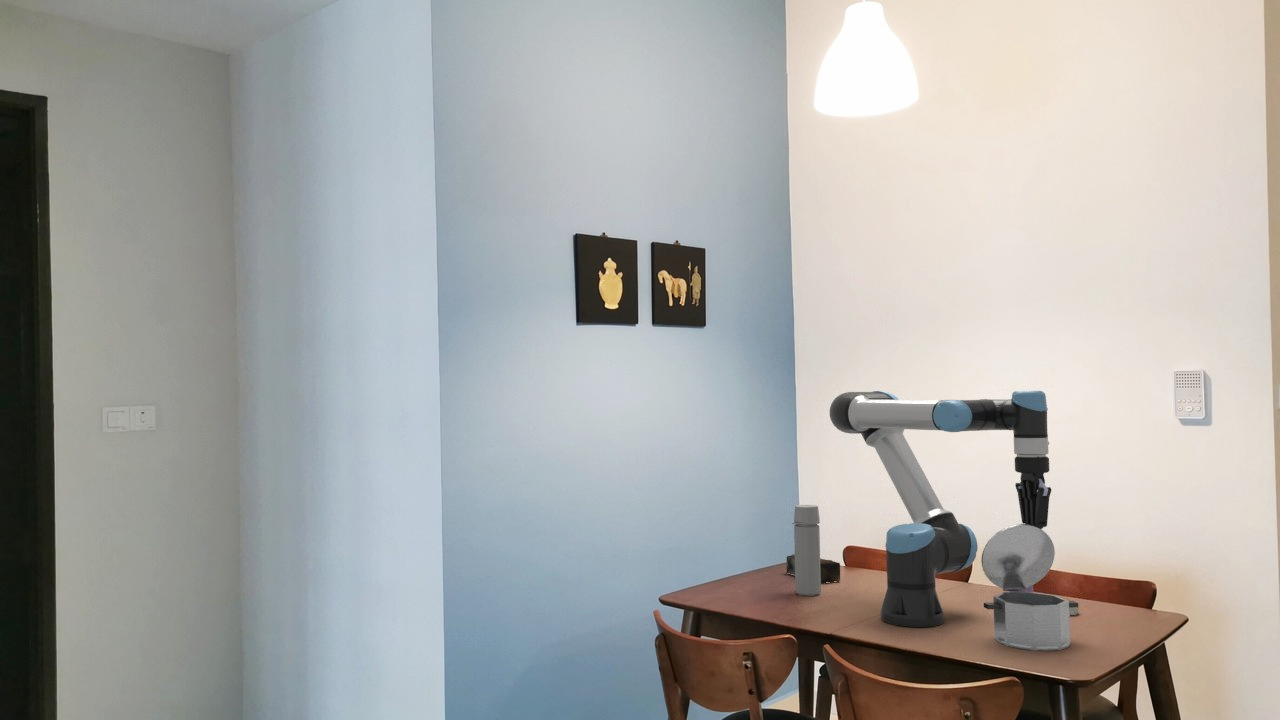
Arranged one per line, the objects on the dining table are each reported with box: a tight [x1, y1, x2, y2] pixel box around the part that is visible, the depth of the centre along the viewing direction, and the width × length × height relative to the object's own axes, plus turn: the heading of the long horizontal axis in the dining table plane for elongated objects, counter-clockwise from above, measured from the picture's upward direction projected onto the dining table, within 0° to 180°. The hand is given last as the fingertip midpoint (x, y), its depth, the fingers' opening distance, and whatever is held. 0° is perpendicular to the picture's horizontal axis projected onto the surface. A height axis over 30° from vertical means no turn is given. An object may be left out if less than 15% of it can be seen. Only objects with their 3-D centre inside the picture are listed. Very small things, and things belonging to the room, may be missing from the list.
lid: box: [981, 523, 1056, 592], centre depth 213 cm, size 17×17×3 cm
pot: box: [983, 591, 1079, 652], centre depth 207 cm, size 21×16×10 cm
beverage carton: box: [786, 553, 841, 584], centre depth 283 cm, size 8×19×7 cm, turn 23°
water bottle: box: [791, 504, 822, 597], centre depth 261 cm, size 9×8×25 cm
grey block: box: [1062, 597, 1079, 617], centre depth 234 cm, size 8×9×4 cm
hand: (1035, 555), depth 214 cm, fingers closed
